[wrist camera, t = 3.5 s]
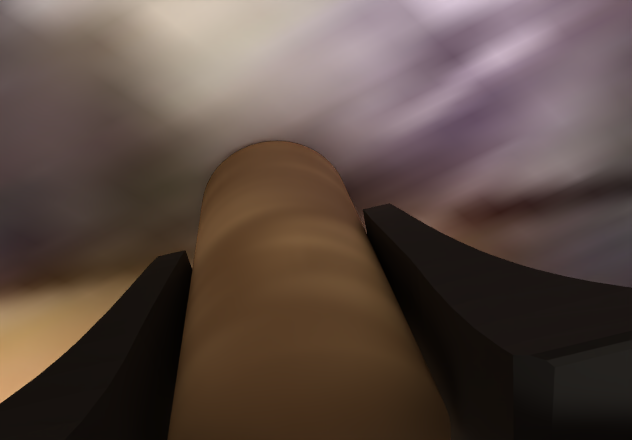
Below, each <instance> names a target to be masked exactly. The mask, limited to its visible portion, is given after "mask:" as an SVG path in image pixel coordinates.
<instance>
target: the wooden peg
mask: <svg viewBox="0 0 632 440" xmlns="http://www.w3.org/2000/svg"><path fill="white" fill-rule="evenodd" d="M167 440H451V426H450V420H449V415H448V412H447V409H446V407H445V404H444V402H443V400H442V397H441V395H440V393H439V391H438V389H437V387H436V384H435V382H434V380H433V378H432V376H431V373H430V371H429V369H428V367H427V365H426V362H425V360H424V358H423V356H422V354H421V352H420V349H419V347H418V345H417V343H416V341H415V338H414V336H413V334H412V332H411V330H410V327H409V325H408V323H407V321H406V319H405V317H404V314H403V312H402V310H401V308H400V306H399V303H398V301H397V299H396V297H395V295H394V293H393V290H392V288H391V286H390V284H389V282H388V279H387V277H386V275H385V273H384V271H383V268H382V266H381V264H380V262H379V260H378V258H377V255H376V253H375V251H374V249H373V247H372V244H371V242H370V240H369V238H368V236H367V233H366V231H365V229H364V227H363V225H362V223H361V220H360V218H359V216H358V214H357V212H356V209H355V207H354V205H353V203H352V201H351V198H350V196H349V194H348V192H347V190H346V188H345V185H344V183H343V181H342V179H341V177H340V175H339V174H338V172H337V170H336V169H335V168H334V167H333V165H332V164H331V163H330V162H329V161H328V160H327V159H326V158H325V157H323V156H322V155H320V154H319V153H318V152H316V151H314V150H312V149H310V148H308V147H306V146H303V145H300V144H296V143H292V142H285V141H268V142H262V143H257V144H254V145H250V146H248V147H245V148H243V149H241V150H239V151H237V152H236V153H234V154H232V155H231V156H230V157H228V158H227V159H226V160H224V161H223V162H222V163H221V164H220V166H219V167H218V168H217V169H216V170H215V172H214V173H213V174H212V176H211V178H210V180H209V182H208V183H207V186H206V189H205V192H204V196H203V201H202V208H201V215H200V222H199V228H198V235H197V242H196V249H195V256H194V262H193V269H192V276H191V283H190V289H189V296H188V303H187V310H186V317H185V323H184V330H183V337H182V344H181V351H180V357H179V364H178V371H177V378H176V384H175V391H174V398H173V405H172V412H171V418H170V425H169V432H168V439H167Z"/></svg>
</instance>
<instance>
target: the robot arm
mask: <svg viewBox="0 0 632 440" xmlns="http://www.w3.org/2000/svg"><path fill="white" fill-rule="evenodd" d="M363 212H364V218H365V225H366V231H367V236H368V238H369V240H370V242H371V244H372V247H373V249H374V251H375V253H376V255H377V258H378V260H379V262H380V264H381V266H382V268H383V271H384V273H385V275H386V277H387V279H388V282H389V284H390V286H391V288H392V290H393V293H394V295H395V297H396V299H397V301H398V303H399V306H400V308H401V310H402V312H403V314H404V317H405V319H406V321H407V323H408V325H409V327H410V330H411V332H412V334H413V336H414V338H415V341H416V343H417V345H418V347H419V349H420V352H421V354H422V356H423V358H424V360H425V362H426V365H427V367H428V369H429V371H430V373H431V376H432V378H433V380H434V382H435V384H436V387H437V389H438V391H439V393H440V395H441V397H442V400H443V402H444V404H445V407H446V409H447V412H448V415H449V420H450V426H451V440H632V288H629V287H622V286H616V285H609V284H603V283H597V282H590V281H585V280H580V279H575V278H570V277H565V276H561V275H557V274H553V273H549V272H545V271H541V270H536V269H533V268H529V267H526V266H522V265H519V264H516V263H513V262H510V261H507V260H504V259H501V258H498V257H495V256H492V255H490V254H487V253H485V252H482V251H480V250H477V249H475V248H473V247H470V246H468V245H466V244H464V243H461V242H459V241H457V240H455V239H453V238H451V237H449V236H447V235H445V234H443V233H441V232H439V231H437V230H435V229H433V228H431V227H430V226H428V225H426V224H424V223H422V222H421V221H419V220H417V219H416V218H414V217H412V216H410V215H409V214H407V213H405V212H404V211H402V210H400V209H399V208H397V207H395V206H393V205H392V204H390V203H389V204H385V205H381V206H376V207H372V208H368V209H363ZM191 276H192V268H191V265H190V262H189V259H188V257H187V254H186V251H180V252H176V253H171V254H167V255H163V256H158V257H157V258H156V259H155V260H154V261H153V262H152V263H151V264H150V265H149V266H148V267H147V268H146V270H145V271H144V272H143V273H142V274H141V275H140V276H139V277H138V279H137V280H136V281H135V282H134V283H133V284H132V285H131V286H130V288H129V289H128V290H127V291H126V292H125V293H124V294H123V295H122V296H121V298H120V299H119V300H118V301H117V302H116V303H115V304H114V305H113V306H112V307H111V309H110V310H109V311H108V312H107V313H106V314H105V315H104V316H103V317H102V318H101V319H100V320H99V321H98V322H97V323H96V324H95V325H94V326H93V327H92V328H91V329H90V330H89V331H88V332H87V333H86V334H85V335H84V336H83V337H82V338H81V339H80V340H79V341H78V342H77V343H76V344H74V345H73V346H72V347H71V348H70V349H69V350H68V351H67V352H66V353H64V354H63V355H62V356H61V357H60V358H59V359H58V360H56V361H55V362H54V363H53V364H52V365H50V366H49V367H48V368H47V369H46V370H44V371H43V372H42V373H41V374H40V375H38V376H37V377H36V378H34V379H33V380H32V381H31V382H29V383H28V384H26V385H25V386H24V387H22V388H21V389H20V390H18V391H17V392H15V393H14V394H13V395H11V396H10V397H9V398H7V399H6V400H5V401H3V402H2V403H0V440H167V439H168V432H169V425H170V418H171V412H172V405H173V398H174V391H175V384H176V378H177V371H178V364H179V357H180V351H181V344H182V337H183V330H184V323H185V317H186V310H187V303H188V296H189V289H190V283H191Z"/></svg>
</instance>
